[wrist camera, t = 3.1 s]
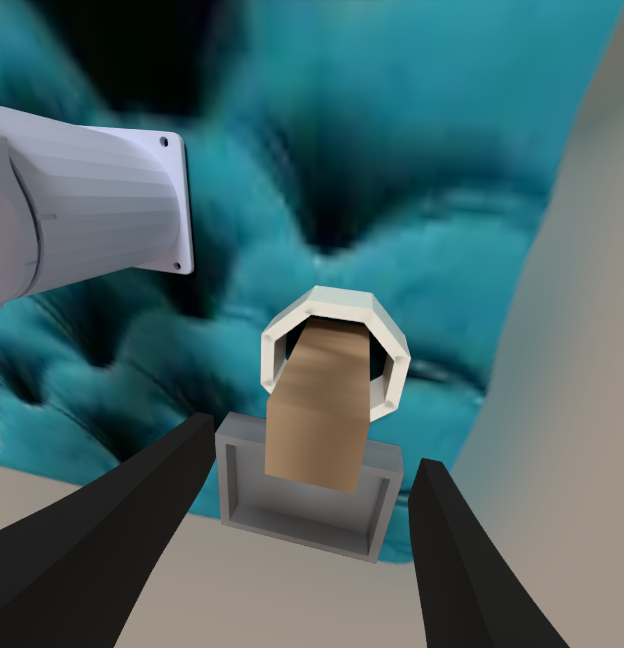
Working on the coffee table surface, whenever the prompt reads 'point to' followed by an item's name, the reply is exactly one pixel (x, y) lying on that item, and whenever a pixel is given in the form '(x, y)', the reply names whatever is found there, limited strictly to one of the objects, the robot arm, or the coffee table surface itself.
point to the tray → (305, 495)
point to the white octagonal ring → (348, 308)
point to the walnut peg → (321, 408)
